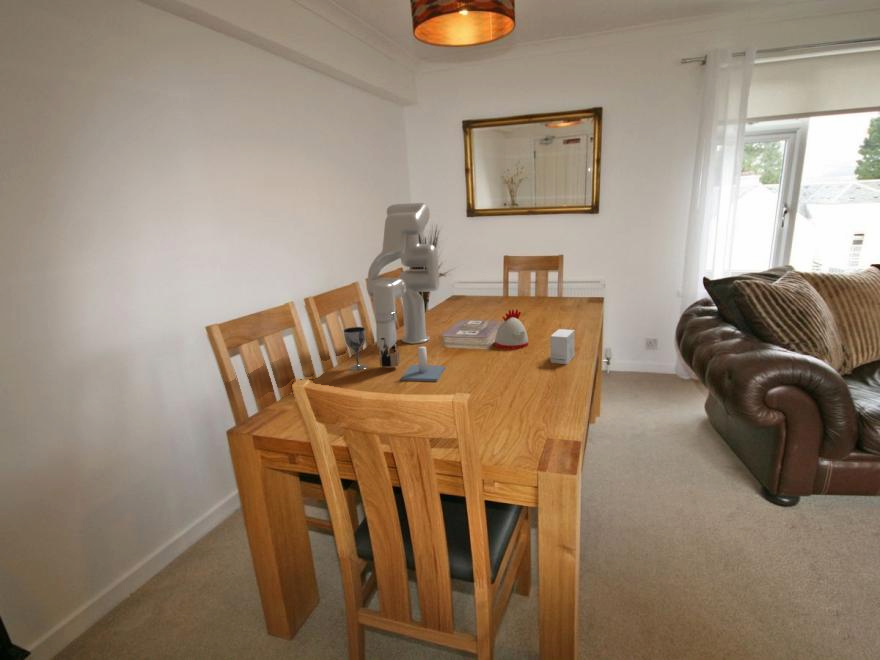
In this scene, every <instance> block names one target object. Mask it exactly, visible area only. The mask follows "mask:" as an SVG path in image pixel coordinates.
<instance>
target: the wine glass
mask: <svg viewBox="0 0 880 660" xmlns="http://www.w3.org/2000/svg"><path fill="white" fill-rule="evenodd" d="M343 336H344V337H343V338H344V343H345V344H346V346H348V348H349V349H350V350H352V352H353V353H354V356H355V361H356V364H354V365H350V366H349V367H348V370H349V371H353V372H357V371H358V372H359V371H363V370H366V369H367V368H368V365H367V364H364V363H359V353H360V351H361V349H362V348H363V346H364V345H365V343H366V328H365V327H362V326H352V327H346V328H345V329H343Z"/></svg>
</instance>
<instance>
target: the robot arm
mask: <svg viewBox="0 0 880 660" xmlns="http://www.w3.org/2000/svg"><path fill="white" fill-rule="evenodd" d="M386 215H387V216H386V218H385V220H384V221H385V222H384V228H383V230H384V231H383V241H382V250H381V252H380V253H379V254H378V255H377V256H376V257H375V258H374V259H373V261H372V262H371V264H370V266H369V269H368V272H367V273H368V274H367V284H366V290H367V293H368V295H369V297H370V298H373V308H374V316H375V317H374V318H375V322H376V333H375V334H376V346H377V347H376V348H377V349H378V350H379V352H380V353H381V358H382V366H388V367H390V366H391V360H390V356H389V349H390V348H395V349H397V344H396V343H397V340H398V335H397V332H398V331H397V325H396V321H397V310H396V300H397V299H400V298H401V299H402V300H401V301H402V312H403V327H404V330H403V331H404V336H402V337H401V342H402V343H405V344H411V345H412V344H413V345H414V344H422V343H425V342H428V341H430V335H429V334H427V330H426V312H425V310H426V309H425V301H424V298H423V297H422V296H423V295H421V294H420V292H421V293H423V292H426V293H427V292H429V293H430V292H436V291H437V290H438V289H439V287H440V272H439V271H440V270H439V256H438V250H437V248H436V246H435V245H433V243H431V244H430V243H420V234H422V232H423V231H424V229H425V228H426V226H427V224H428V223H429V220H430V215H431V214H430V208H429V206H428V205H427V204H426V203H424V202H412V203H409V202H408V203H407V202H406V203H397V204H396V203H395V204H391V205H388V206H387V209H386ZM399 259H400V263H401V264H402V266H404V267H406V268H408V267H409V268H419V267H420V268H426V269H405V270H403V271H401V272H400V273H399V274H398V275H399V276H398V277H379V274H380V272H381V271H382V270H383V269H384V267H386V266H387V265H389V264H392V263H393V262H395V261H397V260H399ZM385 350H387V352H386V351H385ZM382 366H381V367H382Z"/></svg>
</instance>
